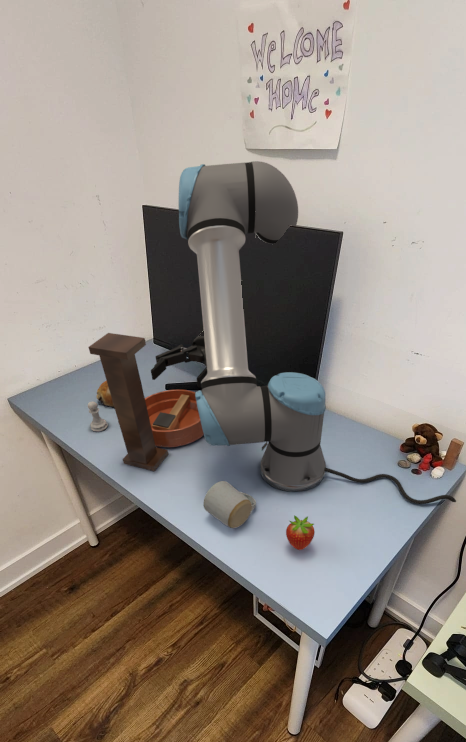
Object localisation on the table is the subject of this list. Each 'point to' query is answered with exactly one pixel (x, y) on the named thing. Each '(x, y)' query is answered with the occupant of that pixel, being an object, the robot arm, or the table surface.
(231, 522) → the ceramic mug
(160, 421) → the hairbrush
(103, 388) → the bread roll
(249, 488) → the table surface
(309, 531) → the fruit
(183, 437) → the bowl
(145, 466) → the stand
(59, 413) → the table surface
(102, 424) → the chess piece
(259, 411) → the robot arm
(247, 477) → the table surface
